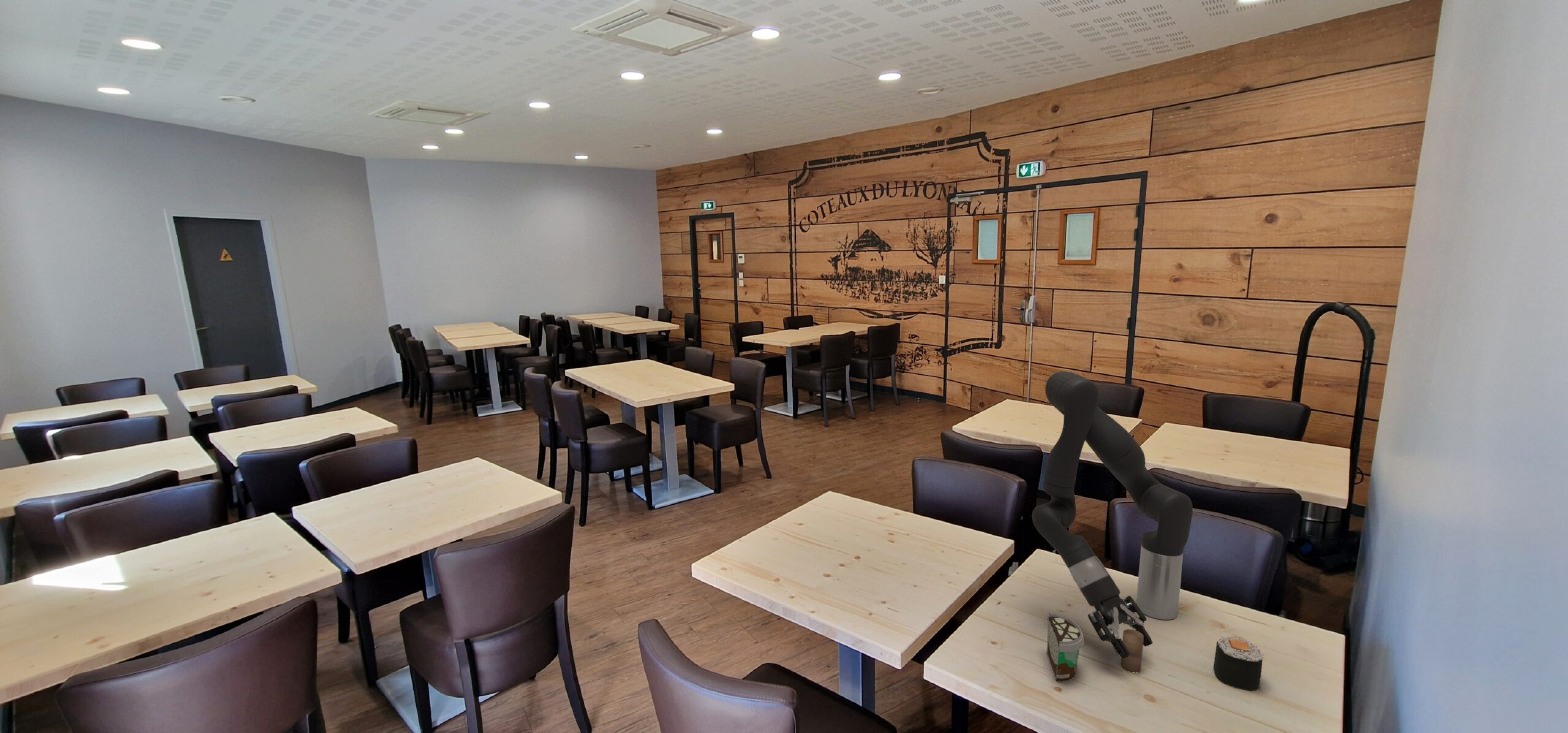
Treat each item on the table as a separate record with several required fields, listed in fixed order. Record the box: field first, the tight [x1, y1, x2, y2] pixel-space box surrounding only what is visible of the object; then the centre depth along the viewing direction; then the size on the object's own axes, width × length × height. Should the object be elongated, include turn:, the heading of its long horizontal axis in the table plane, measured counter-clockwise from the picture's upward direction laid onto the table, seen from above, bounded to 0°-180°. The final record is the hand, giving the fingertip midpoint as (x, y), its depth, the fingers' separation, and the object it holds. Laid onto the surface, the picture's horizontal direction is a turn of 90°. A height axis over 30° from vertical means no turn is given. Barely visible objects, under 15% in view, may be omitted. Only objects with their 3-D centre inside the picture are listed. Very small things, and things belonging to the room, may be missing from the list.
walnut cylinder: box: [1120, 628, 1144, 674], centre depth 139 cm, size 4×4×8 cm
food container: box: [1046, 612, 1085, 682], centre depth 139 cm, size 12×6×10 cm, turn 168°
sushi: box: [1213, 635, 1265, 692], centre depth 135 cm, size 8×8×8 cm
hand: (1137, 651), depth 138 cm, fingers open, 8 cm apart
